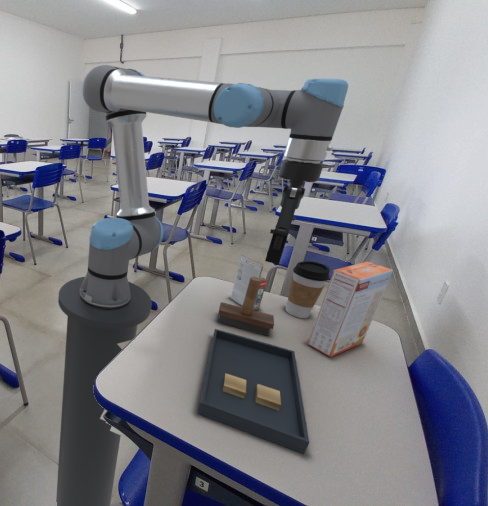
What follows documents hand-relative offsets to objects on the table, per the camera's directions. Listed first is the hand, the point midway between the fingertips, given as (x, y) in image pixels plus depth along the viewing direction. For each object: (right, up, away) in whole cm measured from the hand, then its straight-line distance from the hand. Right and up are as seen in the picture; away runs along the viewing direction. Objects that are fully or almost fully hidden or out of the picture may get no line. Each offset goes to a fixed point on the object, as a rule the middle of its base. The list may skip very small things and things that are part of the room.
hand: (274, 253), depth 83 cm
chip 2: (-10, -29, -14) cm, 33 cm away
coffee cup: (+18, -17, +20) cm, 32 cm away
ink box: (+4, -15, +23) cm, 28 cm away
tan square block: (-15, -27, -11) cm, 33 cm away
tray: (-11, -27, -9) cm, 31 cm away
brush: (-2, -19, +12) cm, 23 cm away
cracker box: (+19, -23, +6) cm, 30 cm away
